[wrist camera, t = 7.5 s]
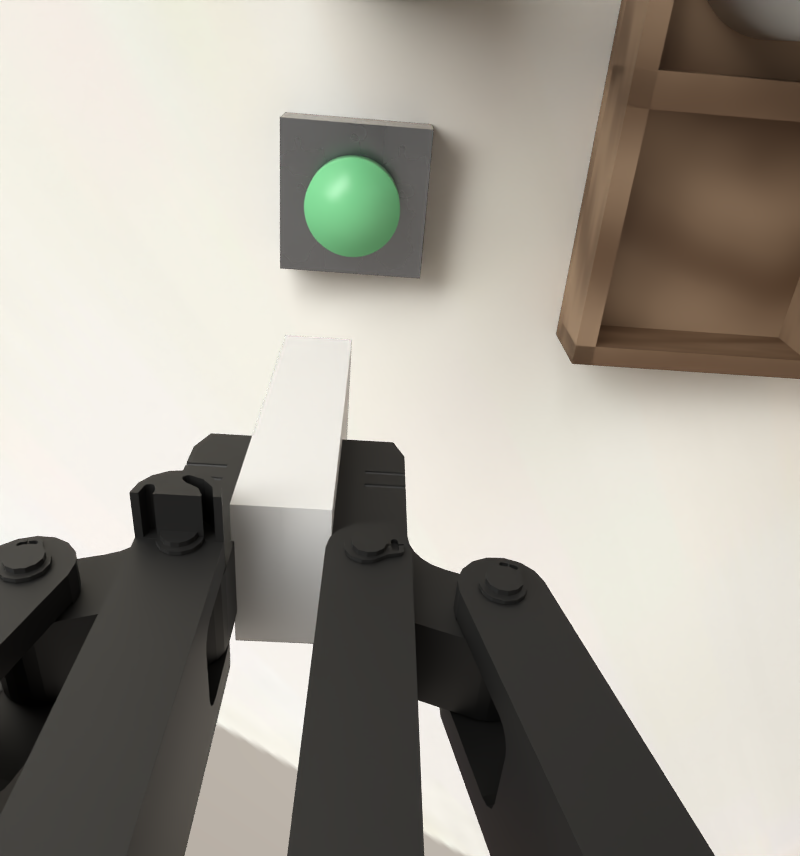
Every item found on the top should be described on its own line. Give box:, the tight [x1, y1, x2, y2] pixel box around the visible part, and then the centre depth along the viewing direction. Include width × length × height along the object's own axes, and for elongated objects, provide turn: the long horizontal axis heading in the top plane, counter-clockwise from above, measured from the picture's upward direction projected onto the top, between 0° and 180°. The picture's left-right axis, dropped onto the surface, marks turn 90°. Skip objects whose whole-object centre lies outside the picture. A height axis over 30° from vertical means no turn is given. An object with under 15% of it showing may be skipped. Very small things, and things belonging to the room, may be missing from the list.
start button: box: [304, 155, 400, 257], centre depth 35 cm, size 4×4×3 cm
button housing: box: [280, 112, 434, 278], centre depth 35 cm, size 7×7×2 cm
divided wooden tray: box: [556, 0, 800, 379], centre depth 33 cm, size 26×13×4 cm, turn 175°
